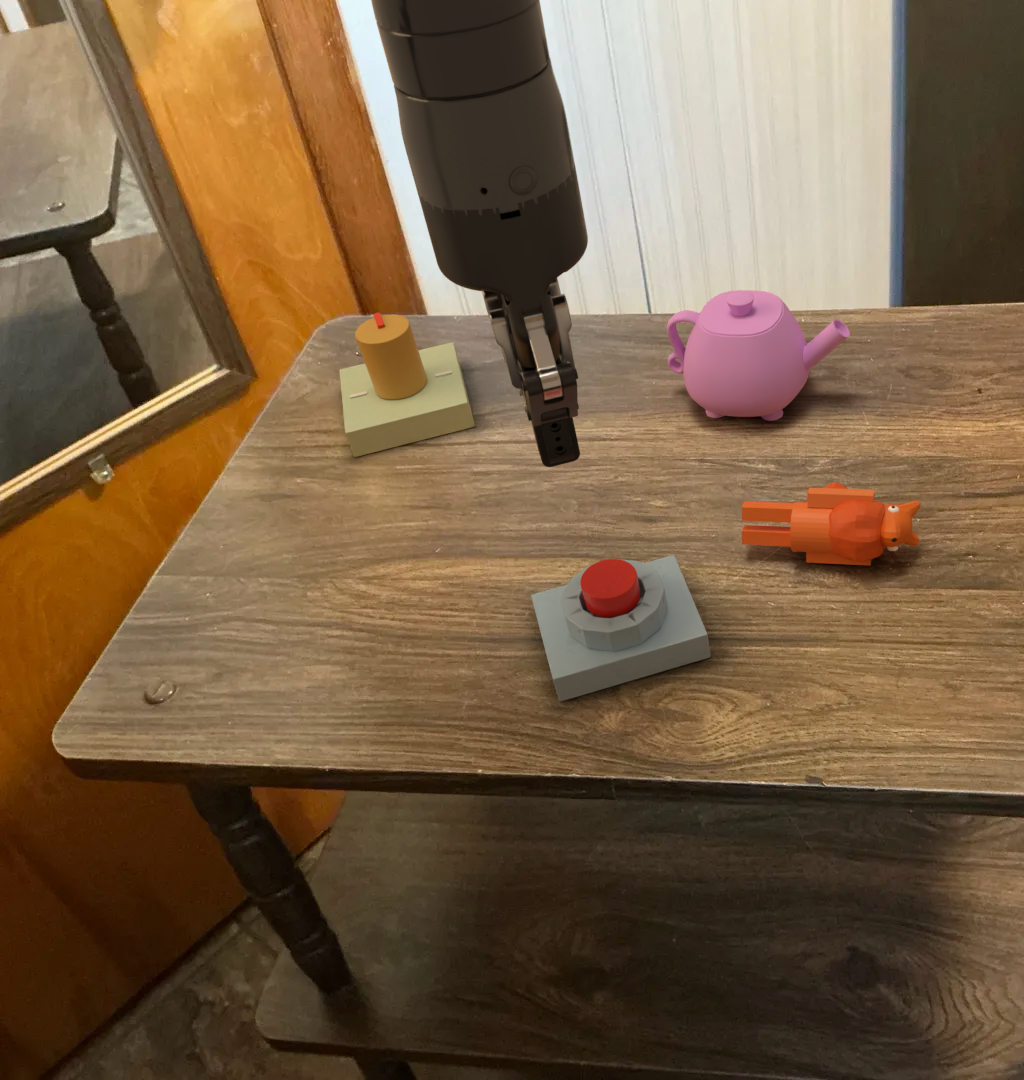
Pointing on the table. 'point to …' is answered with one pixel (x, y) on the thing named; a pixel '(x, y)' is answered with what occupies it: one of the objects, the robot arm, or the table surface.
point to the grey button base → (620, 632)
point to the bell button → (610, 588)
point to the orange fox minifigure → (833, 525)
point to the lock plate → (406, 405)
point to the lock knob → (391, 356)
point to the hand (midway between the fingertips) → (560, 456)
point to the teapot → (747, 354)
